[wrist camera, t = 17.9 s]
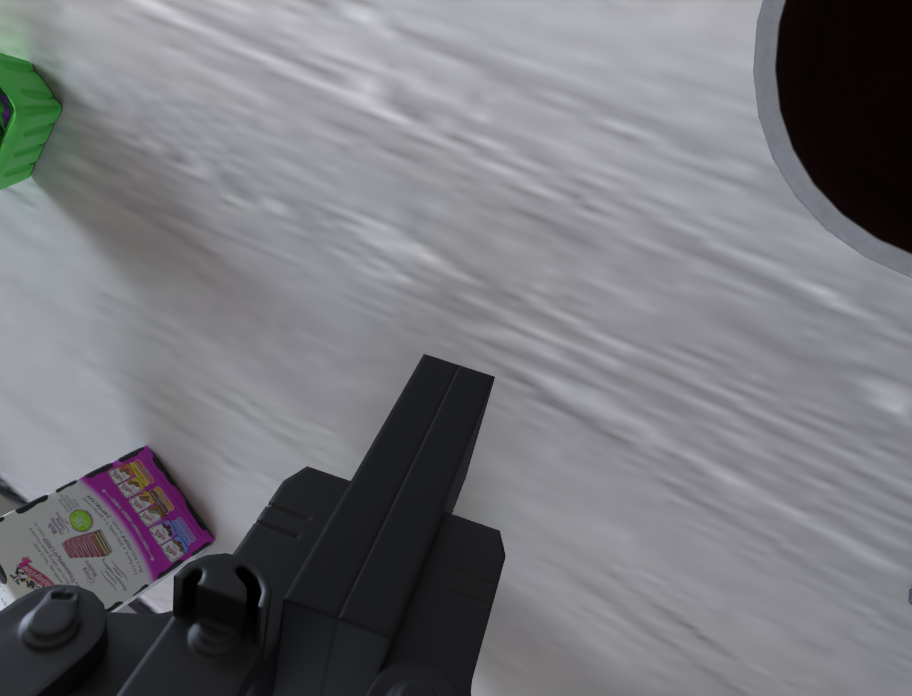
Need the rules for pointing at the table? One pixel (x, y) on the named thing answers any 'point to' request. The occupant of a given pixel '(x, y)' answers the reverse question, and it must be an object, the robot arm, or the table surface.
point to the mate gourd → (842, 116)
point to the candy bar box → (102, 534)
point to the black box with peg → (910, 596)
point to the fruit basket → (23, 118)
